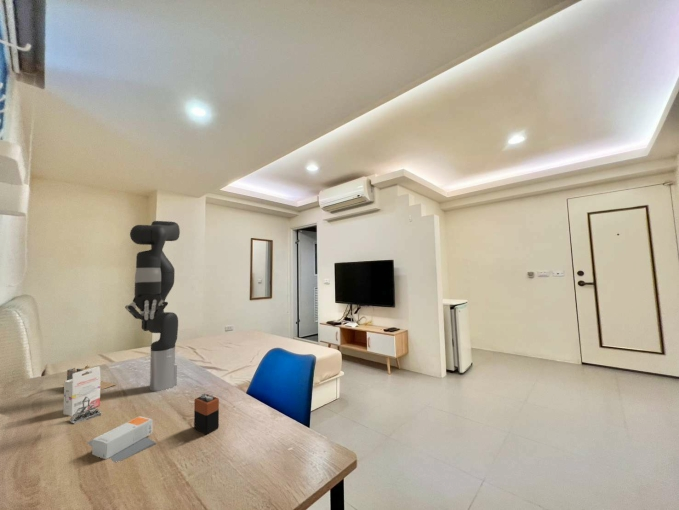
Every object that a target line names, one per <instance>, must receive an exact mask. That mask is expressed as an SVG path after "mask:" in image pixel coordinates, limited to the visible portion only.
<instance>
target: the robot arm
mask: <svg viewBox="0 0 679 510" xmlns="http://www.w3.org/2000/svg"><path fill="white" fill-rule="evenodd" d="M180 229H181V228H180V226H179V224H178V222H175V221H169V220H168V221H167V220H166V221H164V220H153V221H152V222H151V224H136V225H135V226H134V225H133V227H132V228H131V229H130V232H129V233H130V234H129V236H130V240H131V241H132V242H133V243H134V244H135V245H139V246H140V245H143V246H148V245H150V249H149V250H143V251H142V250H141V251H139V252H137V253H136V259H135V260H136V262H135V273H134V298H133V299H132V302H131V303H130V304H127V305H126V306H125V307H124V308H125V309H126V311H128V312H129V314H130V315H132V317H133V318H134V319H136V320H141V330H143V331H144V332H150V333H152V334H159V339H158V340H156V341H153V342H152V343H151V345H150V362H149V363H150V365H149V367H150V368H149V391H150V390H152V391H151V392H162V391H161V390H163V391H166V389H167V390H169V388H170V389H172V388H173V387H175V386H177V383H178V363H176V343H177V341H178V332H179V317H178V315H177V314H176V313H175V312H171V311H170V312H169V311H165V308H166V307H167V306H168V305H169V302H168V301H166V300H167V297H168V295H169V294H170V292H171V291H172V288H173V287H174V284H175V267H174V265H173V264H172V263H171V261H170V260H169V258H168V257H167V256H166V254H165V253H164V251H163V248H164V247H165V243H166V242H175V241H177V240H179V238H180V233H181V230H180ZM137 308H138V309H139V311H138V310H137Z"/></svg>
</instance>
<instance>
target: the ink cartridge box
mask: <svg viewBox="0 0 679 510" xmlns="http://www.w3.org/2000/svg"><path fill="white" fill-rule="evenodd" d="M86 372H89V374H87V375H84V376H82V374H84V373H86ZM101 376H102V375H101V366H99V365H98V366H95V367H89V368H88V369H87V370H84V369H83V371H80V372H76V373H73V374H72V377H73V378H72V379H71V380H67V379H66V380H65V381H64V383H63V384H64V388H63V389H64V390H63V409H62V413H63V415H64V416H70V417H72V415H73V414H75V413H76V411H77V409H78V408H81V407H83V402H82V401H83V400H84V398H85V397H87V398H86V400H85V401H87V400H90V401H89V405H91V404H93V405H94V406H95V408H97V407H99V406H100V405H101V390H100V381H101V380H102V379H101ZM84 406H88V402H84ZM94 406H92V408H93V407H94ZM87 408H88V409H89V408H90V406H89V407H87ZM87 408H86V409H85V410H87ZM81 410H82V409H79V411H78V412H80V411H81ZM85 410H84V411H85ZM78 412H77V413H78Z"/></svg>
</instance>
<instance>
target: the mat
mask: <svg viewBox="0 0 679 510" xmlns="http://www.w3.org/2000/svg"><path fill="white" fill-rule="evenodd" d="M156 443H157V442H156V441H154V440H152V439H151V438H149V437H148V436H146V437H145V438H143V439H141V440H139V441H138V442H136V443H134V444H132V445H131V446H129V447H127V448H125V449H124V450H122V451H120V452H118V453H117V454H115V455H113V456H111V457H110V458H111V459H110V458H108V459H109V460H111V461H112V462H114V463H115V464H118V463H119V462H118V461H120V462H121V460H122V461H124V460H126V459H128V458H130V457H132V456H134V455H137V454H139V453H140V452H143V451H145V450H147V449H149V448H151V447H153V446H155V445H157V444H156ZM87 445H89V446H91V447H93V439H92V440H90V441H87ZM123 459H124V460H123ZM116 461H117V462H118V463H117V462H116Z"/></svg>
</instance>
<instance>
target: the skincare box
mask: <svg viewBox="0 0 679 510" xmlns="http://www.w3.org/2000/svg"><path fill="white" fill-rule="evenodd" d="M151 434H153V419H152V418H149V417H148V418H147V417H146V416H145V417H144V416H141V415H139V416H137V417H135V418H133V419H131V420H128V421H127V422H124V423H123V424H120V425H119V426H117V427H115V428H112V429H111V430H109V431H107V432H105V433H102V434H101V435H99V436H96V437H94V438H93V439H92V440H93V447H92V446H91V447H92V450H91V451H92V453H91V455H92V456H95V457H97V458H99V457H100V459H103V460H108V459H109V458H110V457H111V456H113V455H115V454H117V453H118V452H120V451H122V450H124V449H125V448H127V447H129V446H131V445H132V444H134V443H136V442H138V441H139V440H141V439H143V438H145V437H148V436H149V435H151Z"/></svg>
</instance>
